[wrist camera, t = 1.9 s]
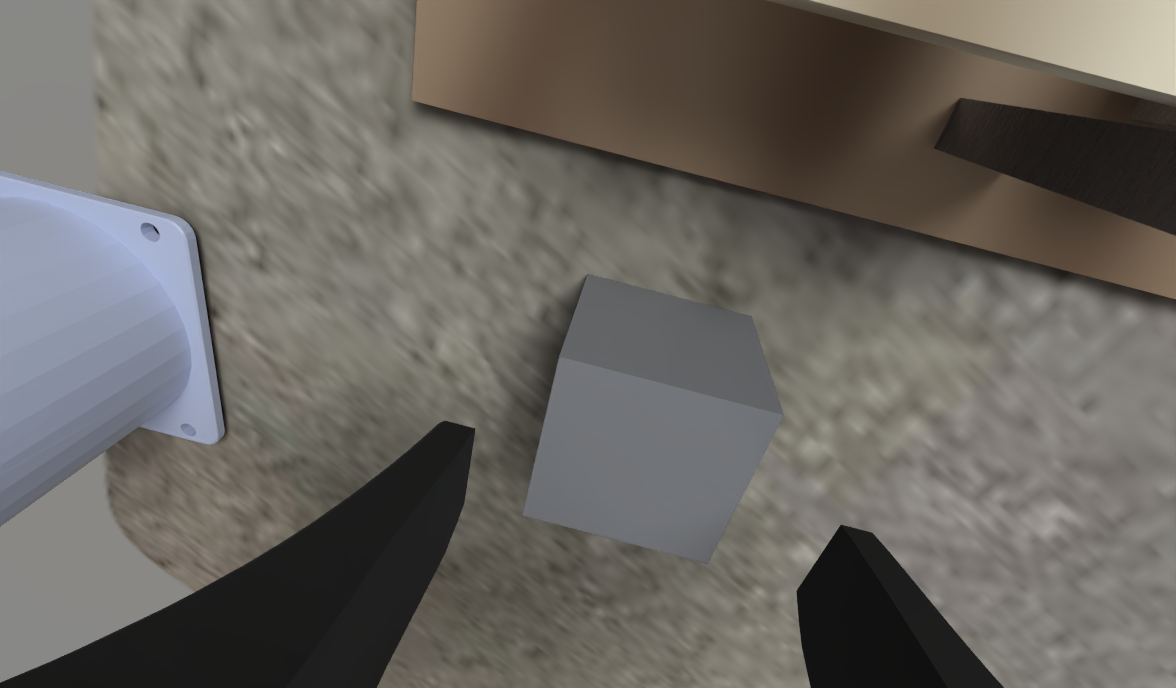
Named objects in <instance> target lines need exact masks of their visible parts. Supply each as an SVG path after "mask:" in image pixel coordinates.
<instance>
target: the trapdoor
mask: <svg viewBox="0 0 1176 688" xmlns="http://www.w3.org/2000/svg"><path fill="white" fill-rule="evenodd" d="M767 1H771V2H774V3H778V4H782V5H786V6H790V7H794V8H797V9H801V10H805V11H809V12H813V13H816V14H820V15H824V16H828V17H832V18H836V19H839V20H843V21H847V22H851V23H855V24H859V25H862V26H866V27H870V28H874V29H878V30H882V31H885V32H889V33H893V34H897V35H901V36H905V37H908V38H912V39H916V40H920V41H924V42H927V43H931V44H935V45H939V46H943V47H947V48H950V49H954V50H958V51H962V52H966V53H970V54H973V55H977V56H981V57H985V58H989V59H993V60H996V61H1000V62H1004V63H1008V64H1012V65H1016V66H1019V67H1023V68H1027V69H1031V70H1035V71H1038V72H1042V73H1046V74H1050V75H1054V76H1058V77H1061V78H1065V79H1069V80H1073V81H1077V82H1081V83H1084V84H1088V85H1092V86H1096V87H1100V88H1104V89H1107V90H1111V91H1115V92H1119V93H1123V94H1127V95H1130V96H1134V97H1138V98H1142V99H1141V100H1140V102H1139V103H1138V105H1137V106H1136V107H1135V109H1134V110H1133V112H1132V113H1131V115H1130V116H1129V118H1128V119H1130V120H1134V121H1138V122H1141V123H1145V124H1149V125H1153V126H1157V127H1161V128H1164V129H1168V130H1172V131H1176V0H767Z"/></svg>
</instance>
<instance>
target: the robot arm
mask: <svg viewBox="0 0 1176 688" xmlns="http://www.w3.org/2000/svg"><path fill="white" fill-rule="evenodd" d="M153 225H154V226H155V227H156V229H157V230H158V232H159V234H160V235H159V234H158V233H157V232H156V231H155V230H154V227H153ZM138 427H142V428H146V429H150V430H153V431H157V432H161V433H165V434H169V435H173V436H177V437H181V438H184V439H188V440H192V441H196V442H200V443H204V444H215V443H216V442H217V441H219V440H220V439H221V438H222V437H223V436H224V433H225V429H224V422H223V416H222V409H221V402H220V396H219V389H218V382H217V376H216V369H215V362H214V356H213V349H212V342H211V336H210V329H209V322H208V316H207V309H206V302H205V296H204V289H203V282H202V276H201V269H200V262H199V256H198V249H197V242H196V237H195V234H194V231H193V229H192V228H191V226H190V225H189V224H188V223H187V222H186V221H184V220H183V219H182V218H179V217H177V216H175V215H171V214H167V213H163V212H159V211H155V210H151V209H148V208H144V207H140V206H136V205H132V204H128V203H124V202H121V201H117V200H113V199H109V198H105V197H101V196H97V195H94V194H90V193H86V192H82V191H78V190H74V189H70V188H67V187H63V186H59V185H55V184H51V183H47V182H43V181H40V180H36V179H32V178H28V177H24V176H20V175H16V174H13V173H8V172H5V171H1V170H0V526H1V525H2V524H4V523H6V522H7V521H8V520H10V519H11V518H13V517H14V516H15V515H17V514H18V513H19V512H21V511H22V510H24V509H25V508H26V507H28V506H29V505H31V504H32V503H33V502H35V501H36V500H37V499H39V498H40V497H42V496H43V495H45V494H46V493H47V492H49V491H50V490H51V489H53V488H54V487H56V486H57V485H59V484H60V483H61V482H63V481H64V480H65V479H67V478H68V477H70V476H71V475H72V474H74V473H75V472H77V471H78V470H79V469H81V468H82V467H84V466H85V465H86V464H88V463H89V462H90V461H92V460H93V459H95V458H96V457H97V456H99V455H100V454H102V453H103V452H104V451H106V450H107V449H109V448H110V447H111V446H113V445H114V444H116V443H117V442H118V441H120V440H121V439H123V438H124V437H125V436H127V435H128V434H130V433H131V432H132V431H134V430H135V429H136V428H138ZM474 435H475V428H471V427H467V426H463V425H459V424H456V423H452V422H448V421H443V422H441V423H439V424H438V425H437V426H435V427H434V428H433V429H432V430H431V431H430V432H429V433H428V434H427V435H426V436H424V437H423V438H422V439H421V440H420V441H419V442H418V443H416V444H415V445H414V446H413V447H412V448H411V449H409V450H408V451H407V452H406V453H405V454H403V455H402V456H401V457H400V458H399V459H397V460H396V461H395V462H394V463H393V464H391V465H390V466H389V467H388V468H386V469H385V470H384V471H382V472H381V473H380V474H379V475H377V476H376V477H375V478H373V479H372V480H371V481H370V482H368V483H367V484H366V485H364V486H363V487H362V488H361V489H359V490H358V491H357V492H355V493H354V494H353V495H351V496H350V497H348V498H347V499H345V500H344V501H343V502H341V503H340V504H338V505H337V506H336V507H334V508H333V509H331V510H330V511H328V512H327V513H326V514H324V515H323V516H321V517H320V518H318V519H317V520H316V521H314V522H313V523H311V524H310V525H308V526H307V527H305V528H304V529H302V530H301V531H299V532H297V533H296V534H294V535H293V536H291V537H290V538H288V539H287V540H285V541H283V542H282V543H280V544H279V545H277V546H275V547H274V548H272V549H270V550H269V551H267V552H265V553H264V554H262V555H260V556H259V557H257V558H255V559H254V560H252V561H250V562H249V563H247V564H245V565H244V566H242V567H240V568H238V569H236V570H235V571H233V572H231V573H229V574H227V575H225V576H224V577H222V578H220V579H218V580H216V581H215V582H213V583H211V584H209V585H207V586H206V587H204V588H202V589H200V590H198V591H197V592H195V593H193V594H191V595H189V596H187V597H185V598H183V599H181V600H179V601H177V602H176V603H174V604H172V605H170V606H168V607H166V608H164V609H162V610H160V611H158V612H155V613H153V614H151V615H149V616H147V617H145V618H143V619H141V620H139V621H137V622H135V623H133V624H130V625H128V626H126V627H124V628H122V629H120V630H118V631H116V632H113V633H112V634H109V635H107V636H105V637H103V638H101V639H99V640H97V641H95V642H92V643H90V644H88V645H86V646H84V647H82V648H80V649H78V650H76V651H73V652H71V653H69V654H67V655H64V656H62V657H60V658H58V659H55V660H53V661H51V662H49V663H46V664H44V665H41V666H39V667H37V668H34V669H32V670H29V671H27V672H25V673H22V674H20V675H18V676H15V677H13V678H10V679H8V680H6V681H3V682H1V683H0V688H377V686H378V684H379V682H380V680H381V678H382V675H383V673H384V671H385V669H386V667H387V665H388V663H389V661H390V659H391V657H392V655H393V653H394V651H395V649H396V647H397V646H398V644H399V642H400V640H401V638H402V636H403V634H404V632H405V630H406V628H407V626H408V624H409V622H410V620H411V618H412V616H413V614H414V613H415V611H416V609H417V607H418V605H419V603H420V601H421V599H422V597H423V595H424V593H425V591H426V589H427V587H428V585H429V583H430V581H431V580H432V578H433V576H434V574H435V572H436V570H437V568H438V566H439V564H440V562H441V560H442V558H443V556H444V554H445V552H446V549H447V547H448V544H449V542H450V539H451V537H452V534H453V531H454V529H455V526H456V524H457V521H458V518H459V516H460V513H461V510H462V508H463V505H464V501H465V494H466V488H467V481H468V474H469V468H470V461H471V455H472V448H473V441H474ZM797 603H798V615H799V626H800V634H801V643H802V649H803V654H804V659H805V663H806V668H807V672H808V677H809V681H810V686H811V688H1004V687H1003V686H1002V685H1001V684H1000V683H999V682H998V681H997V679H996V678H995V677H994V676H993V675H992V674H991V673H990V671H989V670H988V669H987V668H986V667H985V666H984V665H983V663H982V662H981V661H980V660H979V659H978V658H977V657H976V655H975V654H974V653H973V652H972V651H971V650H970V648H969V647H968V646H967V645H966V644H965V643H964V641H963V640H962V639H961V638H960V637H959V635H958V634H957V633H956V632H955V631H954V629H953V628H952V627H951V626H950V625H949V623H948V622H947V621H946V620H945V619H944V617H943V616H942V615H941V614H940V613H939V611H938V610H937V609H936V608H935V607H934V605H933V604H932V603H931V602H930V601H929V599H928V598H927V597H926V596H925V594H924V593H923V592H922V591H921V590H920V588H919V587H918V586H917V585H916V584H915V582H914V581H913V580H912V579H911V577H910V576H909V575H908V574H907V573H906V571H905V570H904V569H903V568H902V567H901V565H900V564H899V563H898V562H897V561H896V559H895V558H894V557H893V556H892V555H891V553H890V552H889V551H888V550H887V549H886V548H885V547H884V545H883V544H882V543H881V542H880V541H879V540H878V539H877V538H876V536H875V535H874V534H873V533H871V532H867V531H863V530H860V529H856V528H852V527H848V526H844V525H840V527H839V528H838V530H837V531H836V533H835V534H834V536H833V537H832V539H831V540H830V542H829V543H828V545H827V546H826V548H825V549H824V551H823V552H822V554H821V555H820V557H819V558H818V560H817V561H816V563H815V564H814V566H813V567H812V569H811V570H810V572H809V573H808V575H807V576H806V578H805V579H804V581H803V582H802V584H801V585H800V587H799V588H798V590H797Z"/></svg>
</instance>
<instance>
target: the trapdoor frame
mask: <svg viewBox="0 0 1176 688" xmlns="http://www.w3.org/2000/svg"><path fill="white" fill-rule="evenodd" d="M1141 99H1142V98H1138V97H1134V96H1130V95H1127V94H1123V93H1119V92H1115V91H1111V90H1107V89H1104V88H1100V87H1096V86H1092V85H1088V84H1084V83H1081V82H1077V81H1073V80H1069V79H1065V78H1061V77H1058V76H1054V75H1050V74H1046V73H1042V72H1038V71H1035V70H1031V69H1027V68H1023V67H1019V66H1016V65H1012V64H1008V63H1004V62H1000V61H996V60H993V59H989V58H985V57H981V56H977V55H973V54H970V53H966V52H962V51H958V50H954V49H950V48H947V47H943V46H939V45H935V44H931V43H927V42H924V41H920V40H916V39H912V38H908V37H905V36H901V35H897V34H893V33H889V32H885V31H882V30H878V29H874V28H870V27H866V26H862V25H859V24H855V23H851V22H847V21H843V20H839V19H836V18H832V17H828V16H824V15H820V14H816V13H813V12H809V11H805V10H801V9H797V8H794V7H790V6H786V5H782V4H778V3H774V2H771V1H767V0H417V9H416V28H415V46H414V65H413V83H412V101H416V102H420V103H424V104H428V105H431V106H435V107H439V108H443V109H447V110H451V111H454V112H458V113H462V114H466V115H470V116H474V117H477V118H481V119H485V120H489V121H493V122H497V123H501V124H504V125H508V126H512V127H516V128H520V129H524V130H527V131H531V132H535V133H539V134H543V135H547V136H550V137H554V138H558V139H562V140H566V141H570V142H574V143H577V144H581V145H585V146H589V147H593V148H597V149H600V150H604V151H608V152H612V153H616V154H620V155H623V156H627V157H631V158H635V159H639V160H643V161H647V162H650V163H654V164H658V165H662V166H666V167H670V168H673V169H677V170H681V171H685V172H689V173H693V174H697V175H700V176H704V177H708V178H712V179H716V180H720V181H723V182H727V183H731V184H735V185H739V186H743V187H746V188H750V189H754V190H758V191H762V192H766V193H770V194H773V195H777V196H781V197H785V198H789V199H793V200H796V201H800V202H804V203H808V204H812V205H816V206H819V207H823V208H827V209H831V210H835V211H839V212H843V213H846V214H850V215H854V216H858V217H862V218H866V219H869V220H873V221H877V222H881V223H885V224H889V225H892V226H896V227H900V228H904V229H908V230H912V231H916V232H919V233H923V234H927V235H931V236H935V237H939V238H942V239H946V240H950V241H954V242H958V243H962V244H966V245H969V246H973V247H977V248H981V249H985V250H989V251H992V252H996V253H1000V254H1004V255H1008V256H1012V257H1015V258H1019V259H1023V260H1027V261H1031V262H1035V263H1039V264H1042V265H1046V266H1050V267H1054V268H1058V269H1062V270H1065V271H1069V272H1073V273H1077V274H1081V275H1085V276H1088V277H1092V278H1096V279H1100V280H1104V281H1108V282H1112V283H1115V284H1119V285H1123V286H1127V287H1131V288H1135V289H1138V290H1142V291H1146V292H1150V293H1154V294H1158V295H1162V296H1165V297H1169V298H1173V299H1176V131H1172V130H1168V129H1164V128H1161V127H1157V126H1153V125H1149V124H1145V123H1141V122H1138V121H1134V120H1130V119H1128V118H1129V116H1130V115H1131V113H1132V112H1133V110H1134V109H1135V107H1136V106H1137V105H1138V103H1139V102H1140V100H1141Z"/></svg>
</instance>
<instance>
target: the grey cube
mask: <svg viewBox="0 0 1176 688" xmlns="http://www.w3.org/2000/svg"><path fill="white" fill-rule="evenodd" d="M783 416H784V414H783V411H782V408H781V405H780V402H779V399H778V395H777V392H776V389H775V386H774V383H773V380H772V377H771V374H770V371H769V368H768V365H767V362H766V359H765V356H764V353H763V349H762V346H761V343H760V340H759V337H758V334H757V331H756V328H755V325H754V322H753V319H752V316H748V315H744V314H740V313H736V312H732V311H728V310H725V309H721V308H717V307H713V306H709V305H705V304H701V303H698V302H694V301H690V300H686V299H682V298H678V297H675V296H671V295H667V294H663V293H659V292H655V291H651V290H648V289H644V288H640V287H636V286H632V285H628V284H624V283H621V282H617V281H613V280H609V279H605V278H601V277H597V276H594V275H590V274H588V275H587V278H586V281H585V284H584V287H583V289H582V292H581V295H580V298H579V301H578V304H577V307H576V310H575V312H574V315H573V318H572V321H571V324H570V327H569V330H568V333H567V336H566V338H565V341H564V344H563V347H562V350H561V353H560V356H559V360H558V364H557V368H556V372H555V377H554V381H553V385H552V390H551V394H550V398H549V403H548V407H547V411H546V416H545V420H544V424H543V428H542V433H541V437H540V441H539V446H538V450H537V454H536V459H535V463H534V467H533V471H532V476H531V480H530V484H529V489H528V493H527V497H526V502H525V506H524V510H523V514H522V515H523V516H527V517H531V518H534V519H538V520H542V521H546V522H550V523H553V524H557V525H561V526H565V527H569V528H573V529H576V530H580V531H584V532H588V533H592V534H595V535H599V536H603V537H607V538H611V539H615V540H618V541H622V542H626V543H630V544H634V545H637V546H641V547H645V548H649V549H653V550H657V551H660V552H664V553H668V554H672V555H676V556H679V557H683V558H687V559H691V560H695V561H699V562H702V563H706V564H708V562H709V560H710V558H711V556H712V554H713V552H714V550H715V548H716V546H717V544H718V542H719V540H720V538H721V536H722V534H723V533H724V531H725V529H726V527H727V525H728V523H729V521H730V519H731V517H732V515H733V513H734V511H735V509H736V507H737V505H738V503H739V501H740V500H741V498H742V496H743V494H744V492H745V490H746V488H747V486H748V484H749V482H750V480H751V478H752V476H753V474H754V472H755V470H756V468H757V467H758V465H759V463H760V461H761V459H762V457H763V455H764V453H765V451H766V449H767V447H768V445H769V443H770V441H771V439H772V437H773V435H774V434H775V432H776V430H777V428H778V426H779V424H780V422H781V420H782V418H783Z"/></svg>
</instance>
